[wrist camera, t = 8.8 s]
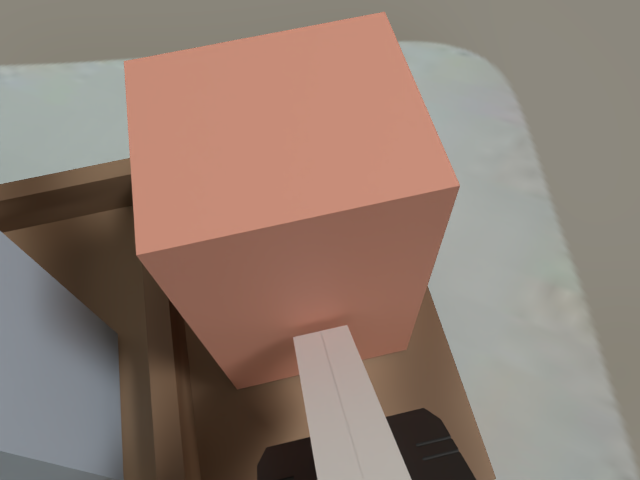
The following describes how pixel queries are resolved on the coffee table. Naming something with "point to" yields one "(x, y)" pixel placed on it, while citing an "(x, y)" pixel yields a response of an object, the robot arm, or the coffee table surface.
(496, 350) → the coffee table surface
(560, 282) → the coffee table surface
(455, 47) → the coffee table surface
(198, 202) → the salmon pink block
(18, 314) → the light blue block
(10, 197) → the wooden compartment tray
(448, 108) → the coffee table surface
